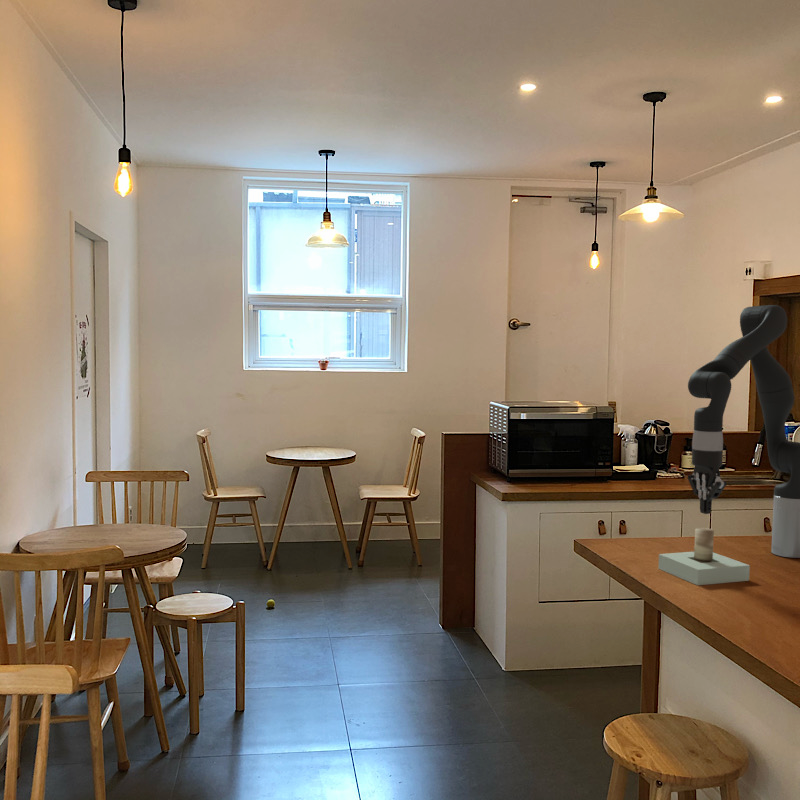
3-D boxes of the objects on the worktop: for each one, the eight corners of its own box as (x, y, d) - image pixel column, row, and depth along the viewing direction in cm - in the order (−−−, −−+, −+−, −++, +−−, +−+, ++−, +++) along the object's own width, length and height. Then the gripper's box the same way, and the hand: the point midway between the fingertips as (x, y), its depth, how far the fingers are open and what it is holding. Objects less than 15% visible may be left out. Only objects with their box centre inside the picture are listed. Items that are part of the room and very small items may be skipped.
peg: (704, 571, 217) (705, 527, 217) (716, 576, 213) (717, 531, 212) (689, 572, 216) (691, 528, 215) (701, 577, 212) (702, 532, 211)
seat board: (707, 564, 225) (707, 550, 224) (749, 580, 209) (749, 565, 209) (658, 568, 220) (658, 554, 219) (697, 585, 204) (698, 569, 204)
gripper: (737, 450, 207) (734, 517, 208) (702, 444, 220) (700, 507, 221) (712, 451, 205) (710, 519, 206) (679, 445, 217) (677, 509, 219)
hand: (705, 513), depth 213 cm, fingers closed
